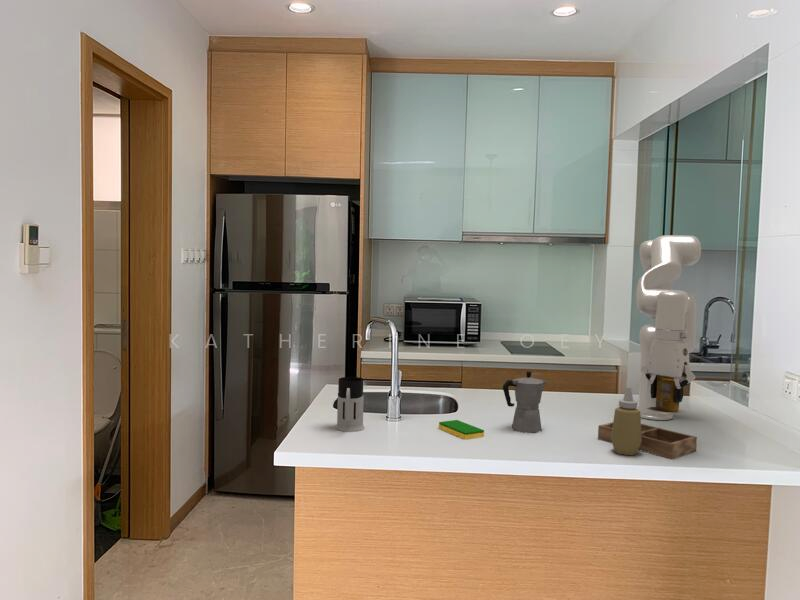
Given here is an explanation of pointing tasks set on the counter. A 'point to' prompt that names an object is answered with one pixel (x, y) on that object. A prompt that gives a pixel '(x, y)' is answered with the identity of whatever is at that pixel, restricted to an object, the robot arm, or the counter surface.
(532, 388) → the coffeepot
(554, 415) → the counter surface
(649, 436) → the caddy
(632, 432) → the squeeze bottle
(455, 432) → the dish sponge
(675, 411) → the condiment
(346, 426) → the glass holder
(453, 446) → the counter surface
